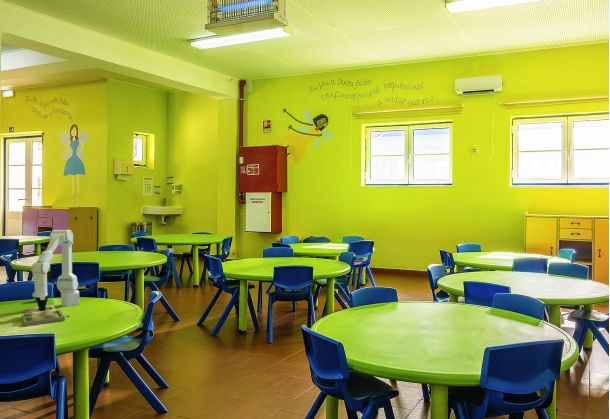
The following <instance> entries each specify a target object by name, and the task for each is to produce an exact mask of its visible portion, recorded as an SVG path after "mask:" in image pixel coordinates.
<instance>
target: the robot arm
mask: <svg viewBox="0 0 610 419" xmlns="http://www.w3.org/2000/svg"><path fill="white" fill-rule="evenodd" d="M49 237H50V239H49V240H50V241H49V243H48V244H47V247H46V249H45V250H43V251H42V252H41V254H40V255H39V258H37V261H36V262H34V263H33V264H32V265H31V268H30V270H31V273H32V276H33V278H34V292H35V294H33V293H32V294H33V295H32V297H33V296H36V297H37V298H35V299H36V301H35V302H36V303H37V307H39V311H45V307H46V306H47V303H48V301H49V298H48V296H47V295H49V293H48V277H47V276H48V275H47V274H48V272H49V271H50V263H51V261H52V259H53V258H54V252H55V250H56V248H57V247H58V246H59V245H60V246H61V275H59V276H58V277H57V282H56V287H57V288H56V289H57V290H58V291H59V292H60V303H61V304H60V305H61V307H72V306H78V305H81V304H80V302H81V301H80V290H79V289H78V287H79V282H78V277H77V275H76V274H74V273H73V249H72V248H73V246H72V245H73V244H74V232H73V231H72V230H71V229H53V230H51V232H50V235H49ZM35 299H34V300H35Z"/></svg>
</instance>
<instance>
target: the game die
mask: <svg viewBox="0 0 610 419" xmlns="http://www.w3.org/2000/svg"><path fill="white" fill-rule="evenodd" d="M33 294H35V291H33V293H31V295H32V297H33V299H34V302H37V301H36V299H35V298H37V297H36V296H33ZM49 296H50V295H49V294H48V295H47V297H49Z"/></svg>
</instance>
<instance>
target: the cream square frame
mask: <svg viewBox="0 0 610 419" xmlns="http://www.w3.org/2000/svg"><path fill="white" fill-rule="evenodd" d="M29 309H30V316H29V317H30V318H31V321H34V320H41V319H49V318H56V317H58V316H57V313H56V310H57V309H56V307H55V305H54V304H53V305H46V307H45V311H39V307H38V306H37V307H30V308H29Z"/></svg>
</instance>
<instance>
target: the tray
mask: <svg viewBox="0 0 610 419" xmlns="http://www.w3.org/2000/svg"><path fill="white" fill-rule="evenodd" d="M57 313H58V314H59V316H57V317H56V318H49V319H41V320H34V321H32V320H28V321H27V318H26V317H30V314H24V313H23V314H22V315H21V317H22V318H21V319H22V320H23V325H24V327H29V326H31V327H32V326H36V325H37V326H38V325H45V324H50V323H52V324H53V323H58V322H57V321H59V322H64V320H65V321H66V317H65V315H64V313H63V312H62V310H61V309H56V314H57Z"/></svg>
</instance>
